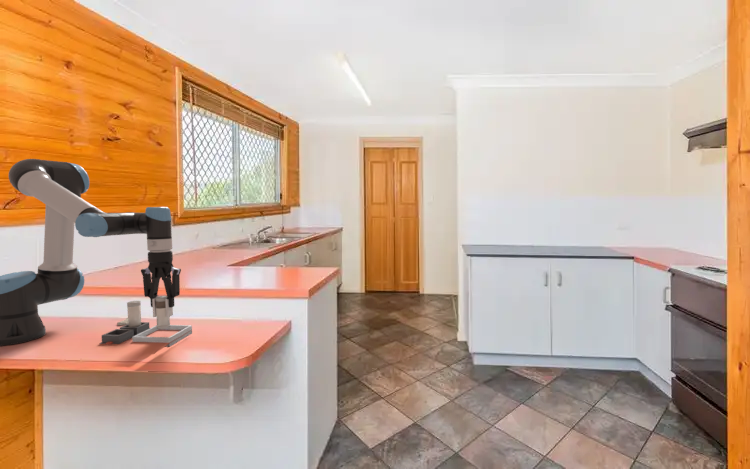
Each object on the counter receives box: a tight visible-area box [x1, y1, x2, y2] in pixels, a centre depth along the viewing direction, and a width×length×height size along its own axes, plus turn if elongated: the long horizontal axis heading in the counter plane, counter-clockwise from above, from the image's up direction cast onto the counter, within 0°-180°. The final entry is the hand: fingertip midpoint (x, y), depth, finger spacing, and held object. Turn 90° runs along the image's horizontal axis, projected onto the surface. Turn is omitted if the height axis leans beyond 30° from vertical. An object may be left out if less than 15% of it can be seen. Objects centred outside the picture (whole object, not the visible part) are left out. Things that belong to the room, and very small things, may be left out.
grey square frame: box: [131, 324, 193, 348], centre depth 129 cm, size 13×13×3 cm
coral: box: [116, 317, 128, 327], centre depth 144 cm, size 6×10×4 cm, turn 18°
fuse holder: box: [99, 321, 151, 345], centre depth 128 cm, size 7×16×4 cm, turn 176°
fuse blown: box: [155, 295, 171, 330], centre depth 128 cm, size 4×4×11 cm
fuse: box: [126, 300, 142, 327], centre depth 132 cm, size 4×4×11 cm
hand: (163, 315), depth 128 cm, fingers closed on fuse blown, 4 cm apart
